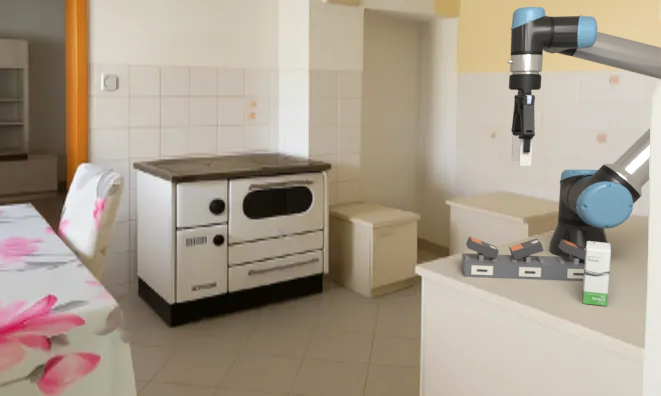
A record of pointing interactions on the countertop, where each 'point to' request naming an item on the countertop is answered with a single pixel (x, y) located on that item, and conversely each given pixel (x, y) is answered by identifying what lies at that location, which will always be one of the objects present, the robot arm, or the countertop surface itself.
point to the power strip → (524, 267)
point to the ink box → (596, 273)
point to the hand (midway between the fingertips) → (520, 163)
